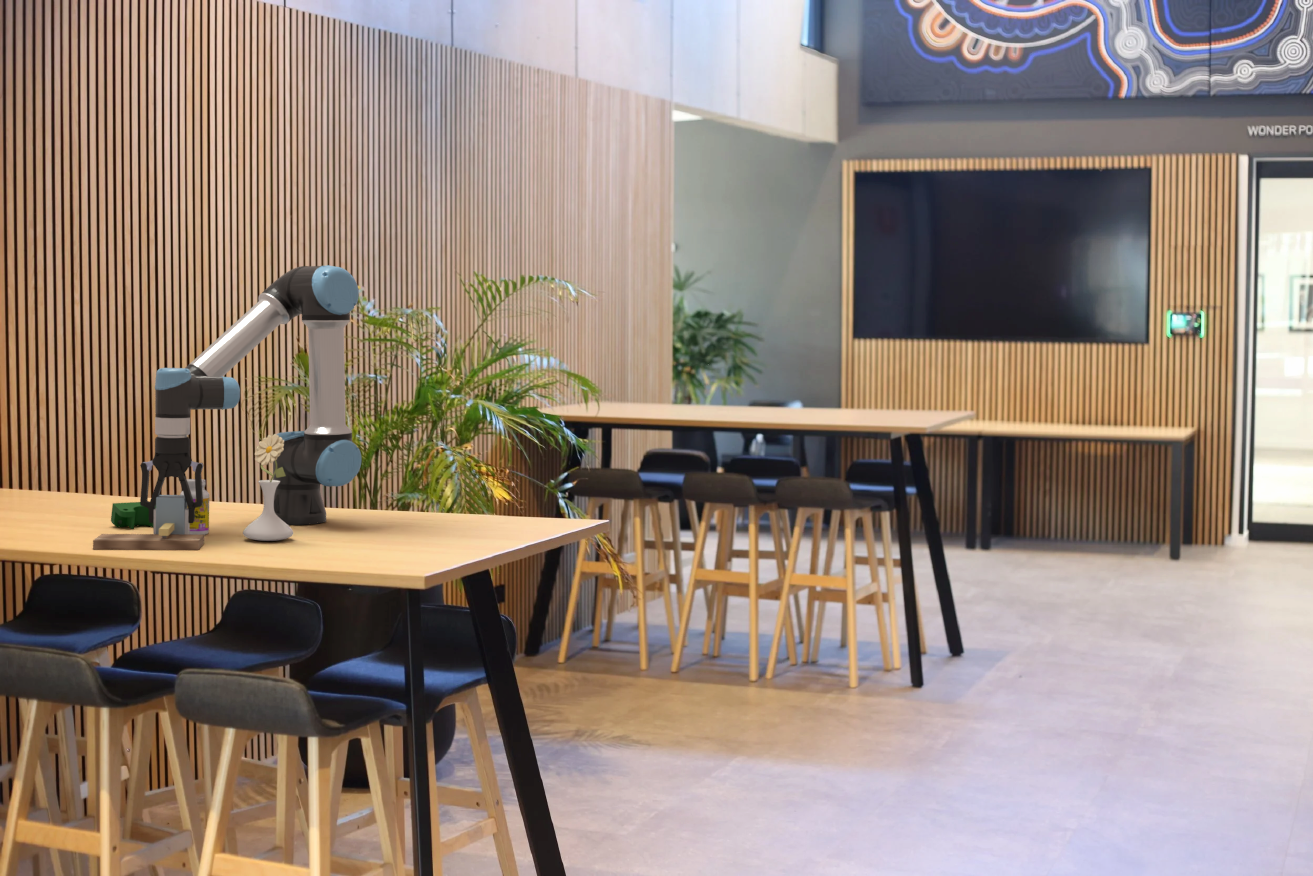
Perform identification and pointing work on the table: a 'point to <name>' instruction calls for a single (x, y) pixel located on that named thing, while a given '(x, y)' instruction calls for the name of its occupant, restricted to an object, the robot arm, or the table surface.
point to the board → (148, 542)
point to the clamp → (130, 515)
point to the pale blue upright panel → (170, 514)
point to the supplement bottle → (199, 510)
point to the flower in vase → (269, 495)
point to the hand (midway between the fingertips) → (171, 537)
